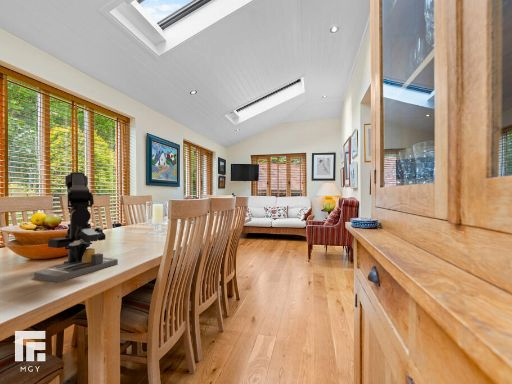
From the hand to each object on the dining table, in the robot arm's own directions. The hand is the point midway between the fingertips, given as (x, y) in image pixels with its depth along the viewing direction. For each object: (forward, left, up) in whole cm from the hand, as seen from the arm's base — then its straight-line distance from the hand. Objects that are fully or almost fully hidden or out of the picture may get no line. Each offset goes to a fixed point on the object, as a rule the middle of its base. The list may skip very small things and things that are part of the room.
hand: (78, 261), depth 99 cm
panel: (0, 0, -4) cm, 4 cm away
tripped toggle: (0, +4, -1) cm, 4 cm away
